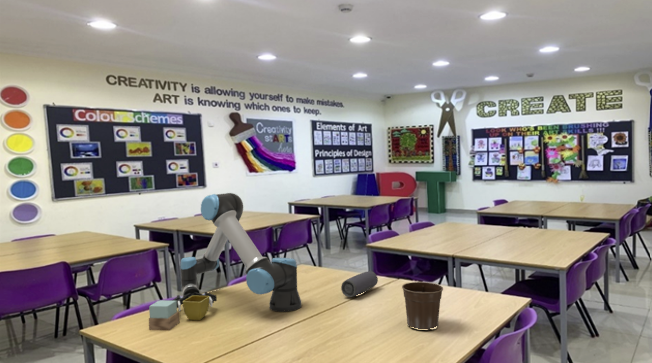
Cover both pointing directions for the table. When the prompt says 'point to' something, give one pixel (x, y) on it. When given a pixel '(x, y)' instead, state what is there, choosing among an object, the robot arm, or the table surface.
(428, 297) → the plant pot
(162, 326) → the tower base
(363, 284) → the bluetooth speaker
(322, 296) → the table surface
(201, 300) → the flower pot
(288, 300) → the robot arm
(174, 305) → the tower top
